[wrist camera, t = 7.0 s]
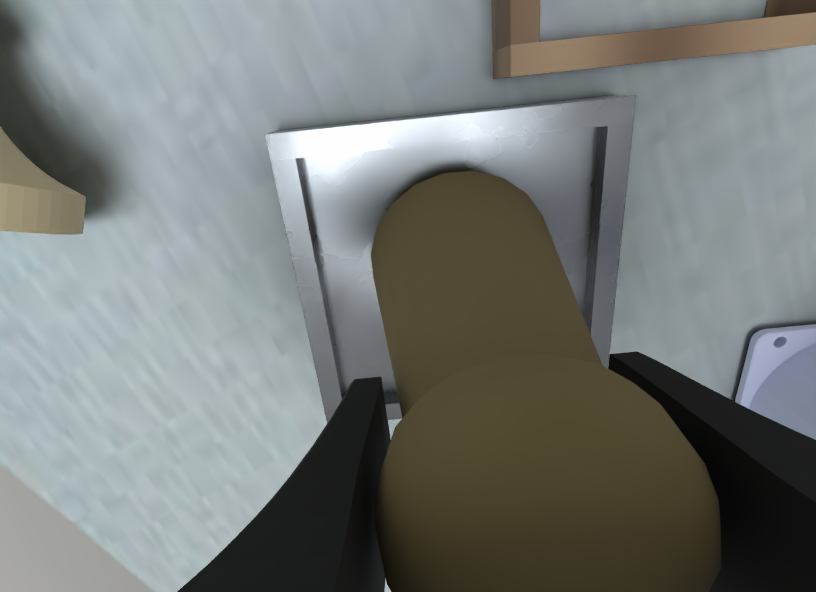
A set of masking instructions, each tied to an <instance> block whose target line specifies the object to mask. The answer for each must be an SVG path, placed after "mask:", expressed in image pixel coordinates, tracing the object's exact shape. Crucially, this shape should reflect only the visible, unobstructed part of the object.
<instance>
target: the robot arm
mask: <svg viewBox="0 0 816 592" xmlns="http://www.w3.org/2000/svg"><path fill="white" fill-rule="evenodd" d="M777 338H778V340H777V341H775V340H776V339H777ZM608 369H610V370H611V371H613V372H615V373H617V374H619V375H621V376H622V377H624V378H626V379H628V380H630V381H631V382H633V383H634V384H636V385H637V386H638V387H640V388H641V389H642V390H643V391H645V392H646V393H647V394H648V395H650V396H651V397H652V398H654V399H655V400H656V401H657V402H659V403H660V404H661V406H662V407H663V408H664V410H665V411H666V412H667V414H668V415H669V416H670V418H671V419H672V420H673V422H674V423H675V424H676V426H677V427H678V428H679V430H680V431H681V432H682V434H683V435H684V436H685V438H686V439H687V440H688V442H689V443H690V444H691V446H692V447H693V448H694V450H695V451H696V452H697V454H698V455H699V456H700V458H701V459H702V460H703V462H704V463H705V465H706V468H707V471H708V473H709V476H710V479H711V481H712V484H713V486H714V489H715V492H716V494H717V497H718V499H719V509H720V523H721V563H722V568H721V570H720V572H719V574H718V576H717V578H716V580H715V582H714V584H713V585H712V587H711V589H710V591H709V592H816V324H811V325H801V326H791V327H780V328H770V329H763V330H760V331H758V332H756V333H755V334H754V335H753V336H752V338H751V340H750V344H749V348H748V352H747V356H746V360H745V364H744V368H743V372H742V376H741V380H740V383H739V387H738V391H737V395H736V399H735V402H734V401H732V400H730V399H728V398H726V397H724V396H723V395H721V394H719V393H717V392H715V391H713V390H711V389H709V388H707V387H705V386H703V385H701V384H700V383H698V382H696V381H694V380H692V379H690V378H688V377H686V376H685V375H683V374H681V373H679V372H677V371H675V370H673V369H671V368H669V367H668V366H666V365H664V364H662V363H660V362H658V361H656V360H654V359H652V358H650V357H648V356H646V355H643V354H641V353H639V352H629V353H619V354H610V357H609V367H608ZM390 442H391V440H390V433H389V426H388V419H387V412H386V405H385V398H384V391H383V384H382V378H381V377H371V378H361V379H354V380H353V382H352V383H351V384H350V386H349V388H348V390H347V391H346V393H345V395H344V397H343V399H342V400H341V402H340V404H339V406H338V407H337V409H336V411H335V412H334V414H333V415H332V417H331V419H330V420H329V422H328V423H327V425H326V426H325V428H324V430H323V431H322V433H321V434H320V436H319V437H318V439H317V440H316V442H315V443H314V445H313V446H312V447H311V449H310V450H309V452H308V453H307V454H306V456H305V457H304V458H303V460H302V461H301V462H300V464H299V465H298V466H297V468H296V469H295V470H294V472H293V473H292V474H291V476H290V477H289V478H288V480H287V481H286V482H285V483H284V484H283V486H282V487H281V488H280V489H279V491H278V492H277V493H276V494H275V495H274V497H273V498H272V499H271V500H270V501H269V502H268V503H267V505H266V506H265V507H264V508H263V509H262V510H261V511H260V512H259V514H258V515H257V516H256V517H255V518H254V519H253V520H252V521H251V522H250V523H249V524H248V525H247V526H246V527H245V528H244V529H243V530H242V531H241V532H240V533H239V535H238V536H237V537H236V538H235V539H234V540H233V541H232V542H231V543H230V544H229V545H228V546H227V547H226V548H225V549H224V550H223V551H222V552H221V553H219V554H218V555H217V556H216V557H215V558H214V559H213V560H212V561H211V562H210V563H209V564H208V565H207V566H206V567H205V568H204V569H202V570H201V571H200V572H199V573H198V574H197V575H196V576H195V577H194V578H192V579H191V580H190V581H189V582H188V583H187V584H186V585H184V586H183V587H182V588H181V589H180V590H179V591H178V592H384V588H385V573H384V568H383V564H382V559H381V555H380V550H379V544H378V539H377V533H376V527H375V522H374V514H375V494H376V485H377V482H378V478H379V475H380V472H381V469H382V466H383V463H384V460H385V457H386V454H387V451H388V448H389V445H390Z"/></svg>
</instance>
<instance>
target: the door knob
mask: <svg viewBox="0 0 816 592" xmlns="http://www.w3.org/2000/svg"><path fill="white" fill-rule="evenodd" d="M85 202H86V197H85V196H84V195H82V194H80V193H78V192H76V191H74V190H72V189H71V188H69V187H67V186H65V185H63V184H61V183H59V182H58V181H56V180H55V179H53V178H52V177H50V176H49V175H47V174H46V173H45V172H43V171H42V170H41V169H40V168H38V167H37V166H36V165H35V164H33V163H32V162H31V161H30V160H29V159H28V158H27V157H26V156H25V155H24V154H23V153H22V152H21V151H20V150H19V149H18V148H17V147H16V146H15V145H14V144H13V142H12V141H11V140H10V139H9V137H8V136H7V135H6V134H5V132H4V131H3V129H2V128H1V126H0V230H1V231H12V232H27V233H44V234H82V233H83V227H84V215H85Z"/></svg>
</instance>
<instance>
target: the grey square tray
mask: <svg viewBox="0 0 816 592" xmlns="http://www.w3.org/2000/svg"><path fill="white" fill-rule="evenodd" d="M635 102H636V96H626V95H610V96H601V97H591V98H582V99H572V100H563V101H553V102H544V103H534V104H525V105H515V106H506V107H496V108H487V109H477V110H468V111H458V112H449V113H439V114H429V115H420V116H410V117H401V118H391V119H382V120H372V121H363V122H353V123H344V124H334V125H325V126H315V127H306V128H296V129H287V130H277V131H274V132H271V133H269V134H266V135H265V137H266V141H267V146H268V151H269V155H270V160H271V164H272V169H273V174H274V178H275V183H276V188H277V192H278V197H279V202H280V206H281V211H282V216H283V220H284V225H285V229H286V234H287V239H288V243H289V248H290V253H291V257H292V262H293V267H294V271H295V276H296V280H297V285H298V290H299V294H300V299H301V304H302V308H303V313H304V318H305V322H306V327H307V332H308V336H309V341H310V345H311V350H312V355H313V359H314V364H315V369H316V373H317V378H318V383H319V387H320V392H321V396H322V401H323V406H324V410H325V415H326V420H327V423H328V422H329V420H330V419H331V417H332V415H333V414H334V412H335V411H336V409H337V407H338V406H339V404H340V402H341V400H342V399H343V397H344V395H345V393H346V391H347V390H348V388H349V386H350V384H351V383H352V382H353V380H354V379H361V378H371V377H381V378H382V384H383V391H384V398H385V405H386V412H387V419H388V420H392V419H402V414H401V409H400V405H399V400H398V395H397V390H396V385H395V380H394V375H393V370H392V366H391V361H390V356H389V351H388V346H387V341H386V336H385V331H384V327H383V322H382V317H381V312H380V307H379V302H378V297H377V292H376V288H375V283H374V277H373V269H372V261H371V250H372V246H373V241H374V237H375V233H376V228H377V226H378V225H379V223H380V222H381V220H382V219H383V217H384V215H385V214H386V212H387V211H388V209H389V207H390V206H391V204H392V203H393V202H395V201H396V200H397V199H398V198H399V197H401V196H402V195H403V194H404V193H405V192H407V191H408V190H409V189H410V188H411V187H413V186H414V185H415V184H418V183H420V182H423V181H425V180H428V179H430V178H433V177H435V176H438V175H440V174H443V173H452V172H465V171H477V172H481V173H485V174H489V175H493V176H497V177H502V178H504V179H506V180H507V181H509V182H510V183H512V184H513V185H515V186H516V187H518V188H519V189H521V190H522V191H524V192H525V193H527V194H528V196H529V197H530V198H531V200H532V201H533V203H534V204H535V205H536V207H537V208H538V210H539V211H540V212H541V214H542V215H543V218H544V220H545V223H546V225H547V228H548V230H549V233H550V235H551V238H552V240H553V243H554V245H555V248H556V250H557V253H558V255H559V258H560V260H561V263H562V265H563V268H564V270H565V273H566V275H567V278H568V280H569V282H570V285H571V287H572V290H573V292H574V295H575V297H576V300H577V302H578V305H579V307H580V310H581V312H582V315H583V317H584V320H585V322H586V325H587V327H588V330H589V332H590V335H591V337H592V340H593V342H594V345H595V347H596V350H597V352H598V355H599V357H600V360H601V362H602V365H603V366H604V367H606V368H608V362H609V352H610V342H611V333H612V323H613V313H614V304H615V294H616V285H617V275H618V265H619V256H620V246H621V236H622V227H623V217H624V208H625V198H626V188H627V179H628V169H629V160H630V150H631V140H632V131H633V121H634V111H635Z"/></svg>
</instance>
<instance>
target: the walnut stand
mask: <svg viewBox="0 0 816 592" xmlns="http://www.w3.org/2000/svg"><path fill="white" fill-rule="evenodd" d="M492 35H493V79H496V78H506V77H515V76H524V75H534V74H543V73H553V72H562V71H572V70H581V69H590V68H600V67H609V66H619V65H628V64H638V63H647V62H656V61H666V60H675V59H685V58H694V57H704V56H713V55H722V54H732V53H741V52H751V51H760V50H770V49H779V48H788V47H798V46H807V45H816V0H768V2H767V7H766V12H765V17H764V18H758V19H749V20H739V21H730V22H721V23H711V24H702V25H693V26H683V27H674V28H665V29H655V30H646V31H637V32H627V33H618V34H609V35H599V36H590V37H581V38H571V39H562V40H553V41H543V42H539V36H540V0H492Z"/></svg>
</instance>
